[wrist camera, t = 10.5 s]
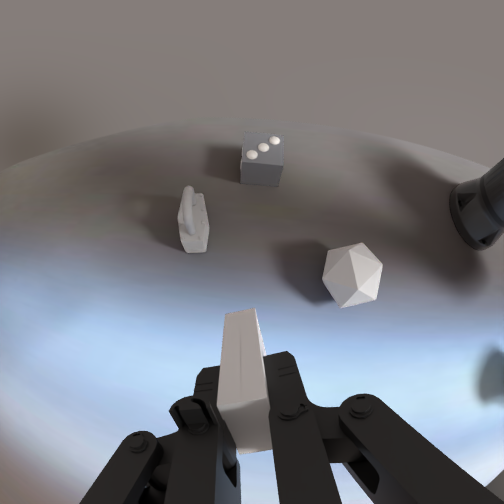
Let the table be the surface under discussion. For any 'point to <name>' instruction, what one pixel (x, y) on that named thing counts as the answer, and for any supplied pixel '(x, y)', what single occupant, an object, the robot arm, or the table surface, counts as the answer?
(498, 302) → the table surface
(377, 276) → the die
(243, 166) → the dotted block
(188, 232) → the padlock
